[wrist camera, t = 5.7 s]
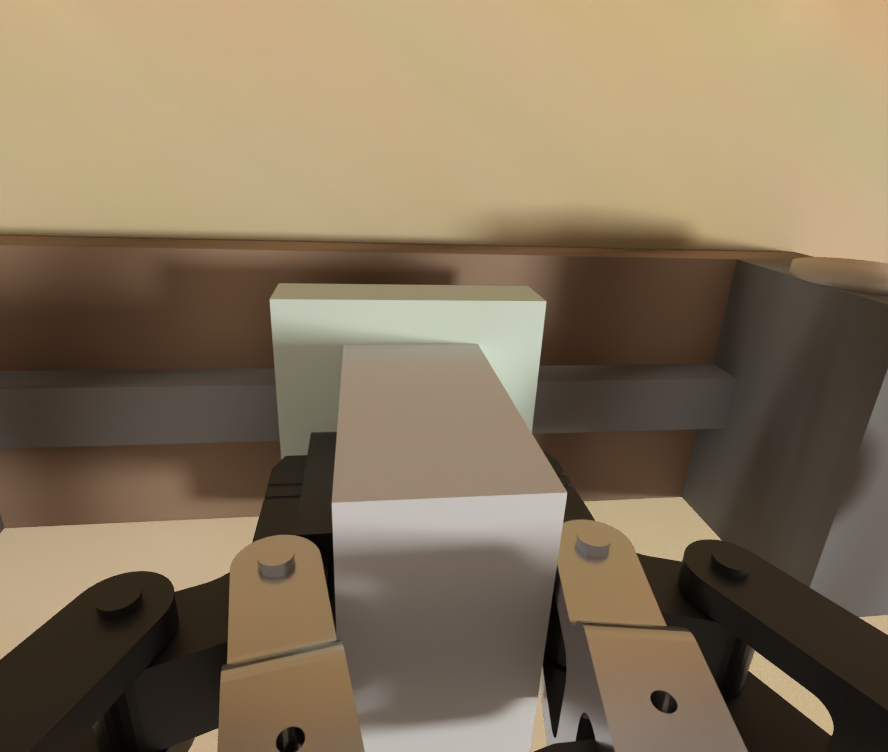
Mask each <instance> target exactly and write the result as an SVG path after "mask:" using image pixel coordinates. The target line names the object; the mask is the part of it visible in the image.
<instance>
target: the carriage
mask: <svg viewBox="0 0 888 752" xmlns="http://www.w3.org/2000/svg"><path fill="white" fill-rule="evenodd" d="M545 310H546V300H544V299H543V298H542V297H541V296H540V295H538V294H537V293H536V292H535V291H534V290H532V289H531V288H530V287H529V286H483V285H392V284H302V283H279V284H278V286H277V287H276V289H275V291H274V292H273V294H272V296H271V298H270V312H271V326H272V340H273V353H274V367H275V381H276V394H277V408H278V422H279V435H280V449H281V460H282V459H283V458H284V457H285V456H295V455H307V454H308V448H309V441H310V435H311V432H337V439H336V452H335V465H334V478H333V492H332V526H333V553H334V580H335V607H336V635H337V640H338V639H341V640H342V643H343V646H344V651H345V655H346V660H347V665H348V670H349V675H350V680H351V685H352V690H353V695H354V700H355V705H356V710H357V715H358V720H359V725H360V730H361V735H362V740H363V745H364V750H365V752H530V747H531V741H532V734H533V727H534V720H535V713H536V706H537V699H538V692H539V685H540V678H541V671H542V665H543V658H544V651H545V644H546V637H547V630H548V623H549V616H550V609H551V602H552V595H553V589H554V582H555V575H556V568H557V561H558V554H559V547H560V540H561V533H562V526H563V520H564V513H565V506H566V499H567V491H566V489H565V488H564V486H563V484H562V483H561V481H560V479H559V478H558V476H557V474H556V473H555V471H554V469H553V468H552V466H551V464H550V463H549V461H548V459H547V458H546V456H545V454H544V453H543V451H542V449H541V448H540V446H539V444H538V443H537V441H536V439H535V438H534V436H533V435H532V426H533V417H534V408H535V399H536V390H537V381H538V373H539V364H540V355H541V346H542V337H543V328H544V319H545Z"/></svg>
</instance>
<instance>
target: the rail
mask: <svg viewBox="0 0 888 752" xmlns="http://www.w3.org/2000/svg"><path fill="white" fill-rule="evenodd" d="M279 283H302V284H392V285H483V286H529V287H530V288H531V289H532V290H534V291H535V292H536V293H537V294H538V295H540V296H541V297H542V298H543V299H544V300H546V310H545V319H544V328H543V337H542V346H541V355H540V364H539V373H538V381H537V390H536V399H535V408H534V417H533V426H532V435H533V436H534V438H535V439H536V441H537V443H538V444H539V446H540V448H541V449H542V450H544V451H545V452H547V453H548V454H550V455H551V456H552V457H554V458H555V459H557V461H558V463H559V464H560V466H561V467H562V469H563V470H564V472H565V476H567V477H568V478H569V480H570V482H571V483H572V487H574V488H575V489H576V491H577V493H578V494H579V496H580V497H581V499H582V501H600V500H622V499H643V498H665V497H683V499H684V500H685V501H686V502H687V503H688V504H689V505H690V506H691V507H692V508H693V509H694V511H695V512H696V513H697V514H698V515H699V516H700V517H701V518H702V519H703V520H704V521H705V522H706V524H707V525H708V526H709V527H710V528H711V529H712V530H713V531H714V532H715V533H716V534H717V536H718V537H719V538H720V539H721V540H722V541H725V542H729V543H732V544H735V545H738V546H740V547H743V548H745V549H747V550H749V551H750V552H752V553H754V554H756V555H757V556H759V557H761V558H762V559H764V560H765V561H767V562H769V563H770V564H772V565H774V566H775V567H777V568H779V569H780V570H782V571H783V572H785V573H787V574H788V575H790V576H792V577H793V578H795V579H797V580H798V581H800V582H801V583H803V584H805V585H806V586H808V587H810V588H811V589H813V590H815V591H816V592H818V593H819V594H821V595H823V596H824V597H826V598H828V599H829V600H831V601H833V602H834V603H836V604H837V605H839V606H841V607H842V608H844V609H846V610H847V611H849V612H851V613H852V614H854V615H855V616H857V617H865V616H877V615H888V264H887V263H880V262H872V261H864V260H854V259H843V258H826V257H812V256H808V255H804V254H800V253H796V252H761V251H714V250H667V249H620V248H574V247H527V246H480V245H433V244H387V243H340V242H293V241H246V240H200V239H153V238H106V237H59V236H13V235H0V533H1V531H2V530H3V529H4V528H16V527H38V526H59V525H81V524H103V523H124V522H146V521H168V520H189V519H211V518H232V517H254V516H260V512H261V508H262V504H263V501H264V500H265V493H266V489H267V487H268V482H269V478H270V474H271V471H272V469H273V468H274V467H275V466H276V465H277V464H278V463H279V462H280V461H281V449H280V435H279V422H278V408H277V394H276V381H275V367H274V353H273V340H272V326H271V312H270V298H271V296H272V294H273V292H274V291H275V289H276V287H277V286H278V284H279Z"/></svg>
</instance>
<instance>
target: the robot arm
mask: <svg viewBox="0 0 888 752" xmlns="http://www.w3.org/2000/svg"><path fill="white" fill-rule="evenodd" d="M336 439H337V432H311V435H310V441H309V448H308V454H307V455H295V456H285V457H284V458H283V459H282V460H281V461H280V462H279V463H278V464H277V465H276V466H275V467H274V468H273V469H272V471H271V474H270V478H269V482H268V487H267V489H266V493H265V500H264V501H263V504H262V508H261V512H260V516H259V519H258V523H257V527H256V531H255V534H254V538H253V542H252V543H251V544H249V545H248V546H246V547H245V548H243V549H242V550H241V551H240V552H239V553H238V554H237V555H236V556H235V558H234V559H233V561H232V563H231V567H230V572H229V573H228V574H226V575H224V576H222V577H220V578H218V579H216V580H213V581H211V582H208V583H205V584H201V585H198V586H194V587H191V588H187V589H184V590H180V591H177V592H174V587H173V585H172V583H171V581H170V580H169V579H168V578H166V577H165V576H163V575H161V574H158V573H154V572H147V571H138V572H129V573H123V574H120V575H116V576H113V577H110V578H108V579H105V580H103V581H101V582H99V583H97V584H95V585H93V586H92V587H90V588H88V589H87V590H85V591H84V592H83V593H81V594H80V595H79V596H78V597H76V598H75V599H74V600H73V601H72V602H70V603H69V604H68V605H67V606H65V607H64V608H63V609H62V610H61V611H59V612H58V613H57V614H56V615H54V616H53V617H52V618H51V619H50V620H48V621H47V622H46V623H45V624H44V625H42V626H41V627H40V628H39V629H37V630H36V631H35V632H34V633H33V634H31V635H30V636H29V637H28V638H26V639H25V640H24V641H23V642H22V643H20V644H19V645H18V646H17V647H15V648H14V649H13V650H12V651H11V652H9V653H8V654H7V655H6V656H4V657H3V658H2V659H1V660H0V752H188V750H189V749H190V747H191V745H192V743H193V741H194V739H195V737H197V736H199V735H202V734H204V733H207V732H209V731H212V730H214V729H217V728H218V752H365V750H364V745H363V740H362V735H361V730H360V725H359V720H358V715H357V710H356V705H355V700H354V695H353V690H352V685H351V680H350V675H349V670H348V665H347V660H346V655H345V651H344V646H343V643H342V640H341V639H338V640H337V635H336V607H335V580H334V553H333V526H332V492H333V478H334V465H335V452H336ZM542 451H543V453H544V454H545V456H546V458H547V459H548V461H549V463H550V464H551V466H552V468H553V469H554V471H555V473H556V474H557V476H558V478H559V479H560V481H561V483H562V484H563V486H564V488H565V489H566V491H567V499H566V506H565V513H564V520H563V526H562V533H561V540H560V547H559V554H558V561H557V568H556V575H555V582H554V589H553V595H552V602H551V609H550V616H549V623H548V630H547V637H546V644H545V651H544V658H543V665H542V671H541V678H540V685H539V688H540V695H541V703H542V710H543V718H544V725H545V732H546V740H547V747H544V748H542V749H539V750H537V751H535V752H888V635H887V634H885V633H883V632H882V631H880V630H878V629H877V628H875V627H873V626H872V625H870V624H869V623H867V622H865V621H864V620H862V619H860V618H859V617H857V616H855V615H854V614H852V613H851V612H849V611H847V610H846V609H844V608H842V607H841V606H839V605H837V604H836V603H834V602H833V601H831V600H829V599H828V598H826V597H824V596H823V595H821V594H819V593H818V592H816V591H815V590H813V589H811V588H810V587H808V586H806V585H805V584H803V583H801V582H800V581H798V580H797V579H795V578H793V577H792V576H790V575H788V574H787V573H785V572H783V571H782V570H780V569H779V568H777V567H775V566H774V565H772V564H770V563H769V562H767V561H765V560H764V559H762V558H761V557H759V556H757V555H756V554H754V553H752V552H750V551H749V550H747V549H745V548H743V547H740V546H738V545H735V544H732V543H729V542H725V541H719V540H699V541H696V542H693V543H691V544H690V545H688V547H687V548H686V550H685V552H684V556H683V560H682V562H680V561H674V560H668V559H662V558H656V557H650V556H646V555H641V554H638V553H636V552H635V549H634V547H633V545H632V543H631V541H630V540H629V539H628V538H627V537H626V536H625V535H624V534H623V533H621V532H620V531H619V530H617V529H615V528H613V527H612V526H609V525H607V524H604V523H601V522H597V521H595V520H594V518H593V516H592V515H591V513H590V512H589V510H588V508H587V507H586V505H585V504H584V502H583V501H582V499H581V497H580V496H579V494H578V493H577V491H576V489H575V488H574V487H572V483H571V482H570V480H569V478H568V477H567V476H565V472H564V470H563V469H562V467H561V466H560V464H559V463H558V461H557V459H555V458H554V457H552V456H551V455H550V454H548V453H547V452H545V451H544V450H542ZM754 651H757V652H758V653H759V654H761V655H762V656H763V657H765V658H766V659H767V660H769V661H770V662H771V663H773V664H774V665H775V666H777V667H778V668H779V669H781V670H782V671H783V672H785V673H786V674H787V675H789V676H790V677H791V678H793V679H794V680H795V681H797V682H798V683H799V684H801V685H802V686H803V687H805V688H806V689H807V690H809V691H810V692H811V693H813V694H814V695H815V696H816V697H817V698H818V699H819V700H820V701H821V702H822V703H823V704H824V705H825V707H826V708H827V710H828V711H829V713H830V715H831V718H832V720H833V725H834V731H833V735H832V736H831V735H829V734H828V733H826V732H825V731H824V730H823V729H821V728H820V727H819V726H818V725H816V724H815V723H814V722H813V721H811V720H810V719H809V718H807V717H806V716H805V715H804V714H802V713H801V712H800V711H799V710H797V709H796V708H795V707H794V706H792V705H791V704H790V703H788V702H787V701H786V700H785V699H783V698H782V697H781V696H780V695H778V694H777V693H776V692H774V691H773V690H772V689H771V688H769V687H768V686H767V685H766V684H764V683H763V682H762V681H761V680H759V679H758V678H757V677H755V676H754V675H753V674H752V673H750V672H749V671H748V670H749V667H750V664H751V660H752V657H753V654H754Z"/></svg>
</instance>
